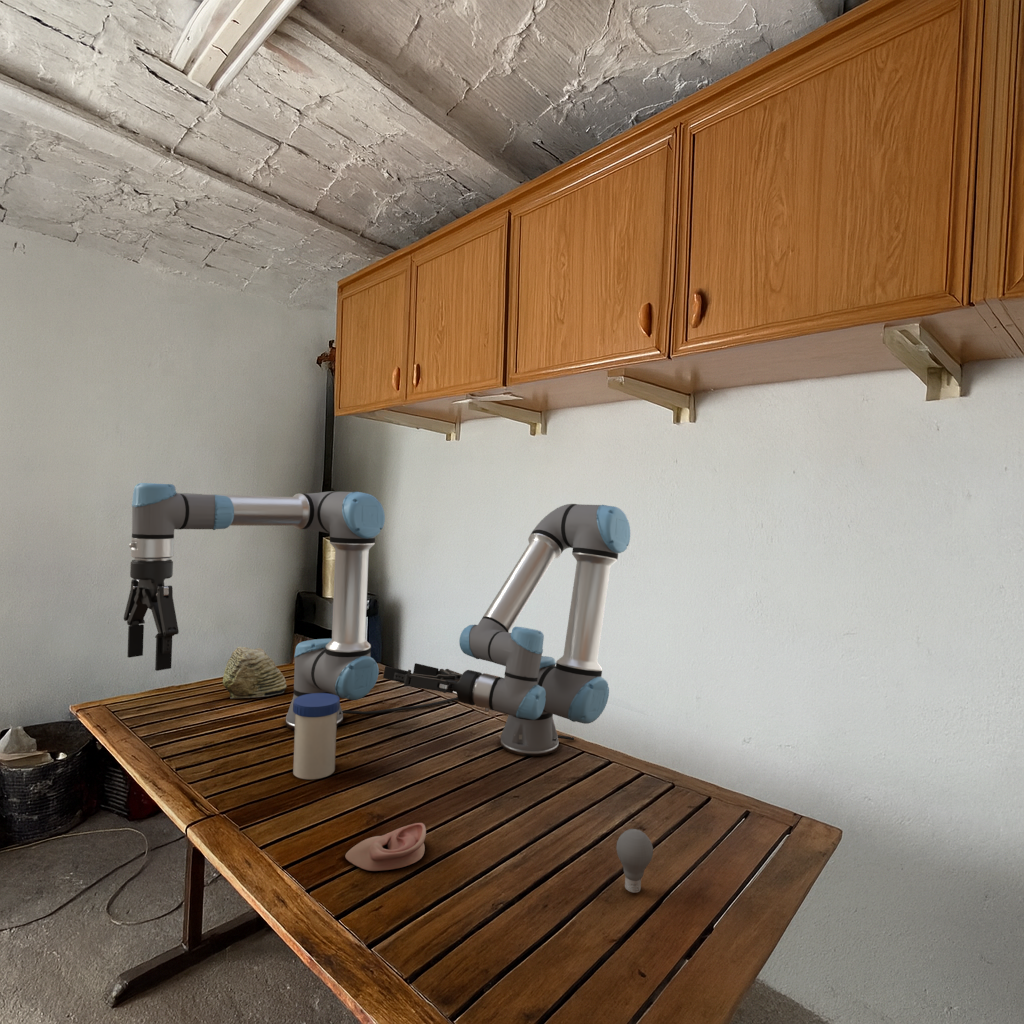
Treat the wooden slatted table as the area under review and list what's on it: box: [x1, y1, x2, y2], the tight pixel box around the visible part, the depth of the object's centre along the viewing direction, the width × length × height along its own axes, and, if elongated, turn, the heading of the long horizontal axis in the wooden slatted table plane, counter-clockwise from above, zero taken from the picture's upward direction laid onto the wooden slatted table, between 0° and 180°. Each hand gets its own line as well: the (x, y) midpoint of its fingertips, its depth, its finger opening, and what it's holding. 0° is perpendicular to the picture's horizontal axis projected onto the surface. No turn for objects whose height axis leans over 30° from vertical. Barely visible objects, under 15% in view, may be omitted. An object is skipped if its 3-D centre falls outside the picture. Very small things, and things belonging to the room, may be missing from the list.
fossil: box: [222, 646, 288, 699], centre depth 198 cm, size 9×18×15 cm, turn 132°
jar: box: [292, 712, 338, 780], centre depth 146 cm, size 9×9×16 cm
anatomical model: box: [344, 822, 427, 872], centre depth 113 cm, size 13×4×12 cm
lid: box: [293, 693, 341, 717], centre depth 146 cm, size 10×10×2 cm
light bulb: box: [615, 828, 654, 894], centre depth 106 cm, size 6×6×10 cm
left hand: (148, 662), depth 129 cm, fingers open, 13 cm apart
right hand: (400, 670), depth 153 cm, fingers open, 13 cm apart
